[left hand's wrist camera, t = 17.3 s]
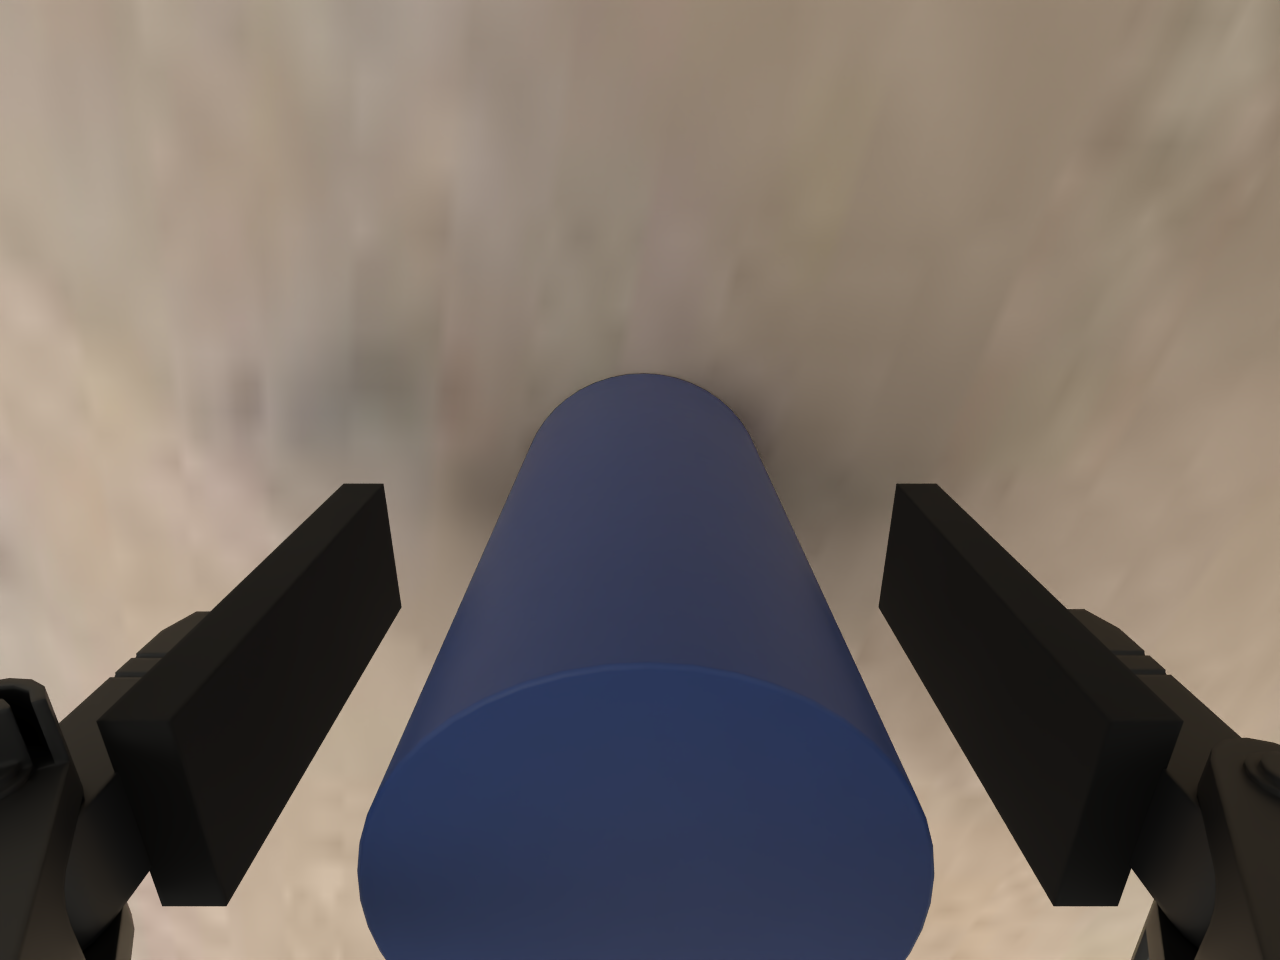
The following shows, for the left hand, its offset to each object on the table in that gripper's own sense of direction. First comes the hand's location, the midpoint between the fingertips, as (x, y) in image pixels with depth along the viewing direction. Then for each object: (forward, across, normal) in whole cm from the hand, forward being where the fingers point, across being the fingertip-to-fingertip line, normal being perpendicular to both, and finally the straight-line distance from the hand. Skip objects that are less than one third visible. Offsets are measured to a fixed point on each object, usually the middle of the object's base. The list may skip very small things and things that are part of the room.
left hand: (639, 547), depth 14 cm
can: (+3, 0, 0) cm, 3 cm away
